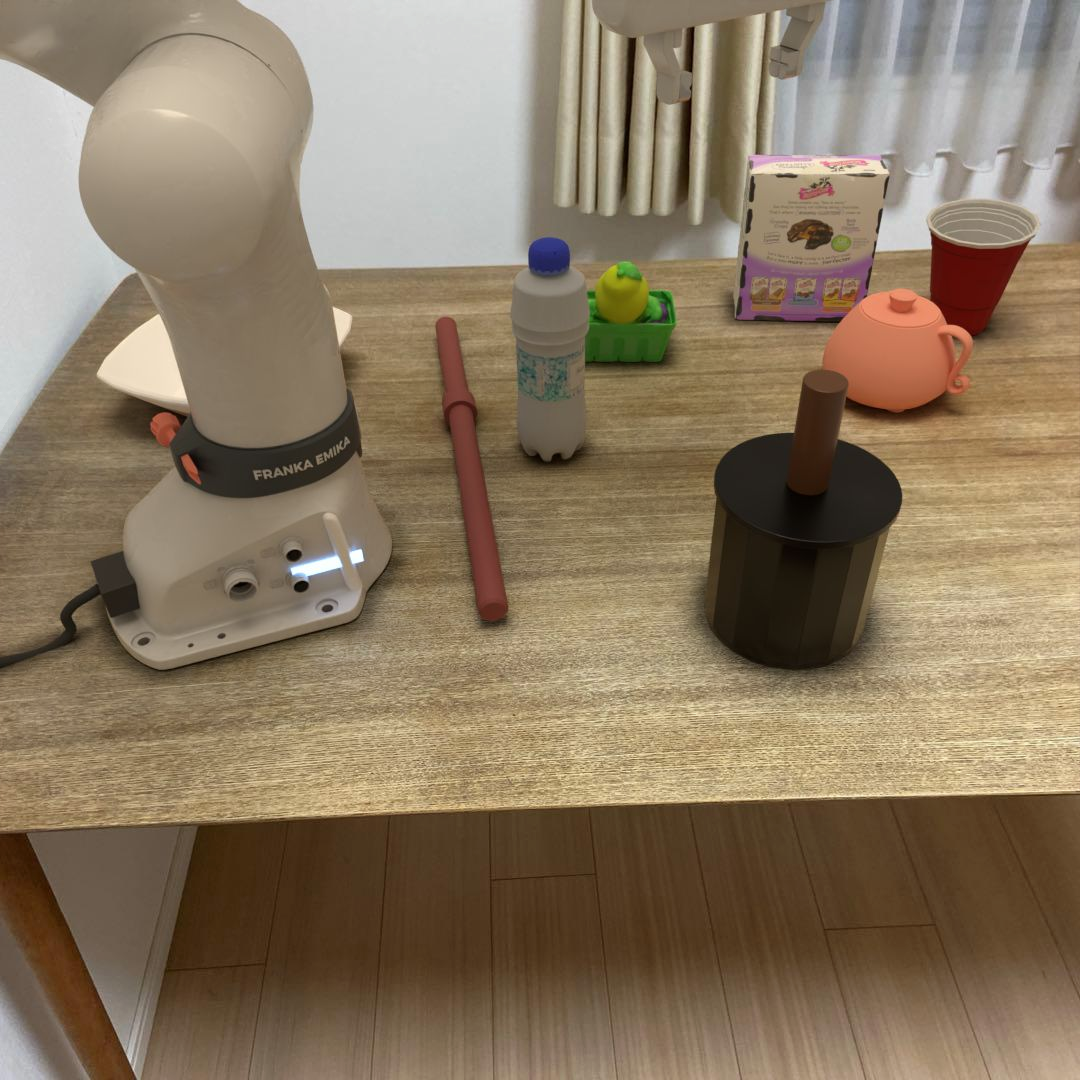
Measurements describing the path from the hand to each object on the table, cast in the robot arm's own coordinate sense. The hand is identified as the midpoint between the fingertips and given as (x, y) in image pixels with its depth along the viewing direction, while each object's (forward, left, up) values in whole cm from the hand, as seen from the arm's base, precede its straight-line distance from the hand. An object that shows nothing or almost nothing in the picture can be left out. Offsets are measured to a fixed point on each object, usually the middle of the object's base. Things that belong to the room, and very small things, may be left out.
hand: (730, 88), depth 68 cm
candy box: (+30, +20, -33) cm, 49 cm away
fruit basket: (+8, +23, -33) cm, 41 cm away
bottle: (-7, +12, -33) cm, 36 cm away
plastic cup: (+42, +8, -33) cm, 54 cm away
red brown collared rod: (-14, +15, -33) cm, 39 cm away
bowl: (-28, +38, -33) cm, 58 cm away
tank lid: (-4, -16, -22) cm, 27 cm away
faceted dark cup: (-4, -16, -33) cm, 37 cm away
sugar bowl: (+26, +2, -33) cm, 42 cm away
